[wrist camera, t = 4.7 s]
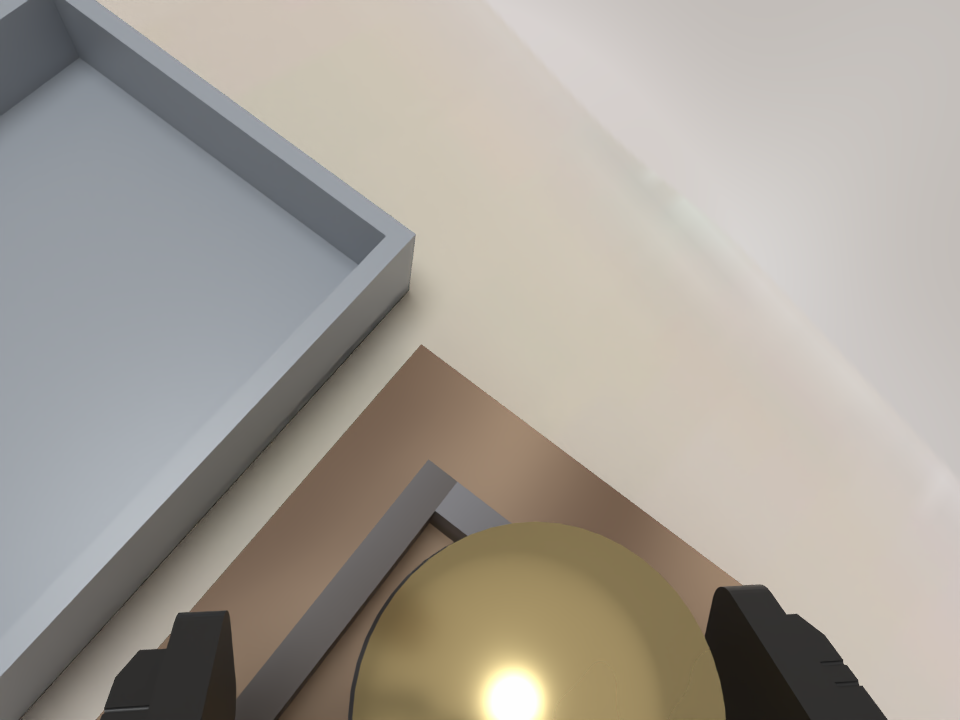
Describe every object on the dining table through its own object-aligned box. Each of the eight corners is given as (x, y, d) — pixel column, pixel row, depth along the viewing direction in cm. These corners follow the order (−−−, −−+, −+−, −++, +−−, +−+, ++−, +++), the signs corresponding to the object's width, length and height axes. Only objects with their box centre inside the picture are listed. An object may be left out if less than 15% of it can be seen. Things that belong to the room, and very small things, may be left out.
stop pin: (313, 716, 17) (260, 762, 8) (433, 556, 18) (501, 447, 9) (470, 846, 16) (599, 1050, 7) (579, 671, 18) (794, 669, 9)
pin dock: (63, 774, 17) (11, 792, 14) (418, 361, 21) (425, 319, 19) (483, 1146, 15) (506, 1237, 13) (765, 623, 20) (823, 616, 17)
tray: (-393, 404, 18) (-529, 355, 15) (85, 50, 23) (48, -35, 20) (-9, 749, 17) (-82, 763, 14) (408, 290, 22) (415, 234, 19)
